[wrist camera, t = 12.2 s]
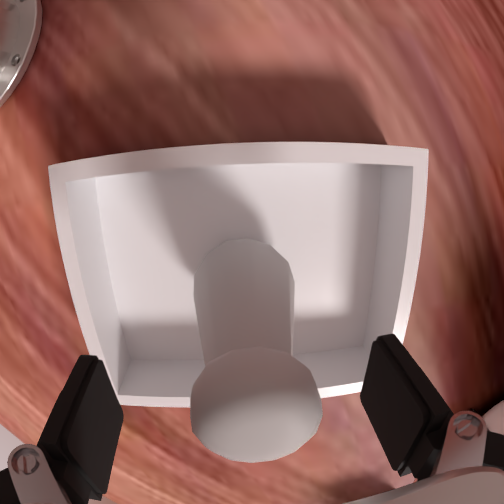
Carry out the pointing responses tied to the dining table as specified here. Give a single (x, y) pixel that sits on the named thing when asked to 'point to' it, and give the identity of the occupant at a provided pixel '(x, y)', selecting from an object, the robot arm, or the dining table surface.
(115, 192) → the bin
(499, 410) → the coffee press
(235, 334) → the salt shaker
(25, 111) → the dining table surface
